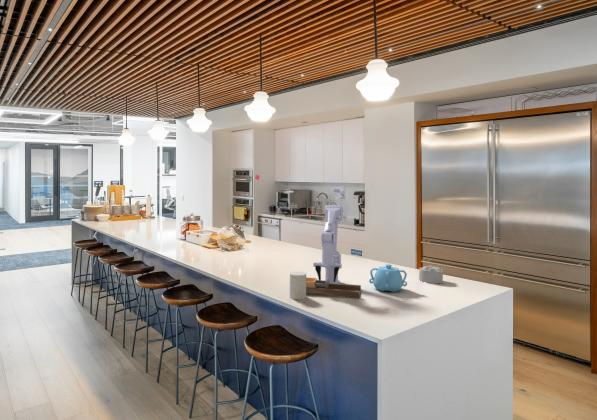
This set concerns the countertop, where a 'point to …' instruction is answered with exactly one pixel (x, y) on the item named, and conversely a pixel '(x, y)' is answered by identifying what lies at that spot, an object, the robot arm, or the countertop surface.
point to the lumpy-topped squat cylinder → (431, 274)
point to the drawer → (316, 283)
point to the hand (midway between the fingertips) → (327, 281)
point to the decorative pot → (388, 278)
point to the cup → (297, 285)
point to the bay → (336, 290)
